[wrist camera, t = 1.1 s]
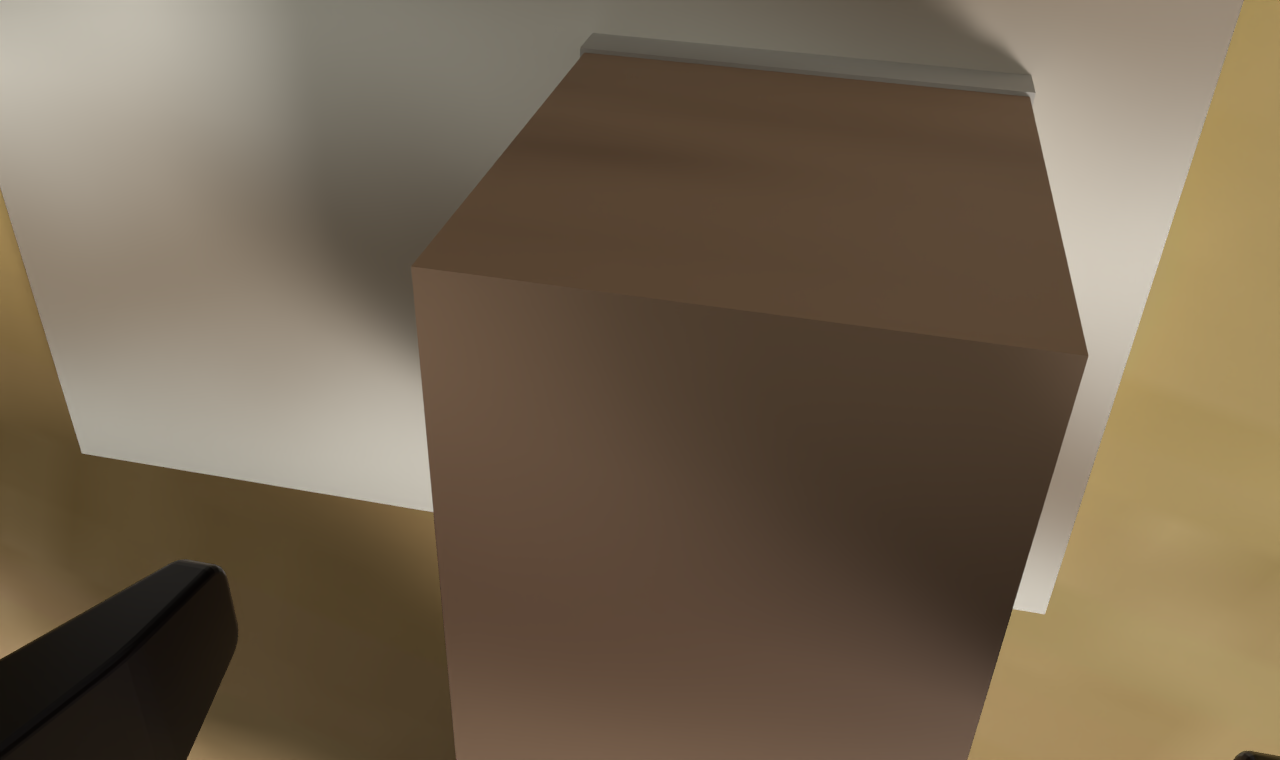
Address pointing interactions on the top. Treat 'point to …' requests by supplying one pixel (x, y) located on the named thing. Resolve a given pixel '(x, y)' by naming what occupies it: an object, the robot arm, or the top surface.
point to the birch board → (444, 177)
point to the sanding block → (743, 407)
